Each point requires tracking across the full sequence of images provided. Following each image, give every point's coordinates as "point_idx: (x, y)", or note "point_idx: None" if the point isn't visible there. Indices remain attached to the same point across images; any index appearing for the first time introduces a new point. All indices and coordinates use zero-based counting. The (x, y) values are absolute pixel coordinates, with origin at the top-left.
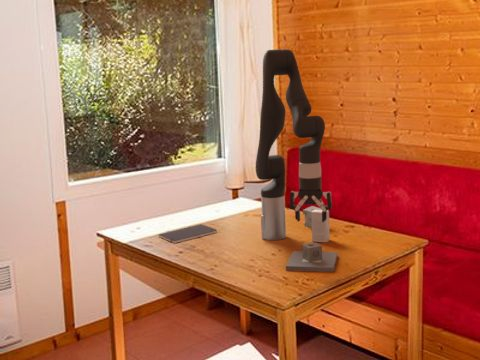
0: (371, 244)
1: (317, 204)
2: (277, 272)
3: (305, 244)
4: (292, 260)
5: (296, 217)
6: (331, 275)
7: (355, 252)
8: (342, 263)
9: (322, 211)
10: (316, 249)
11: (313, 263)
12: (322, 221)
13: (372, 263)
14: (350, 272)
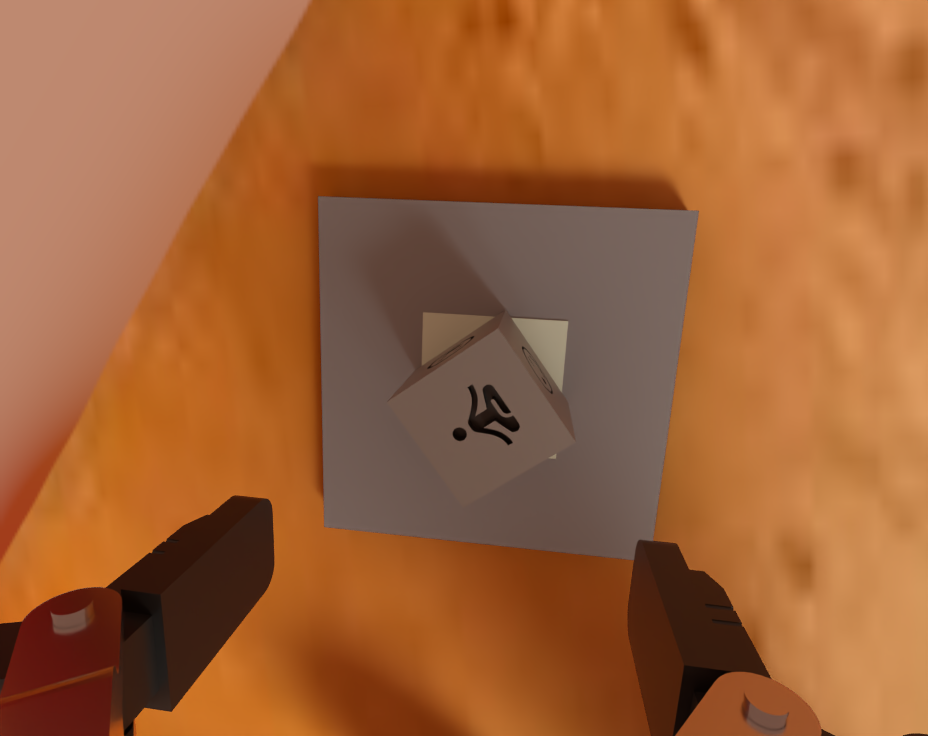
0: (160, 711)
1: (105, 726)
2: (759, 158)
3: (543, 440)
4: (647, 349)
5: (705, 595)
6: (337, 125)
7: None
8: (289, 377)
9: (154, 621)
10: (438, 364)
11: (474, 285)
12: (259, 498)
13: (107, 381)
14: (217, 199)
